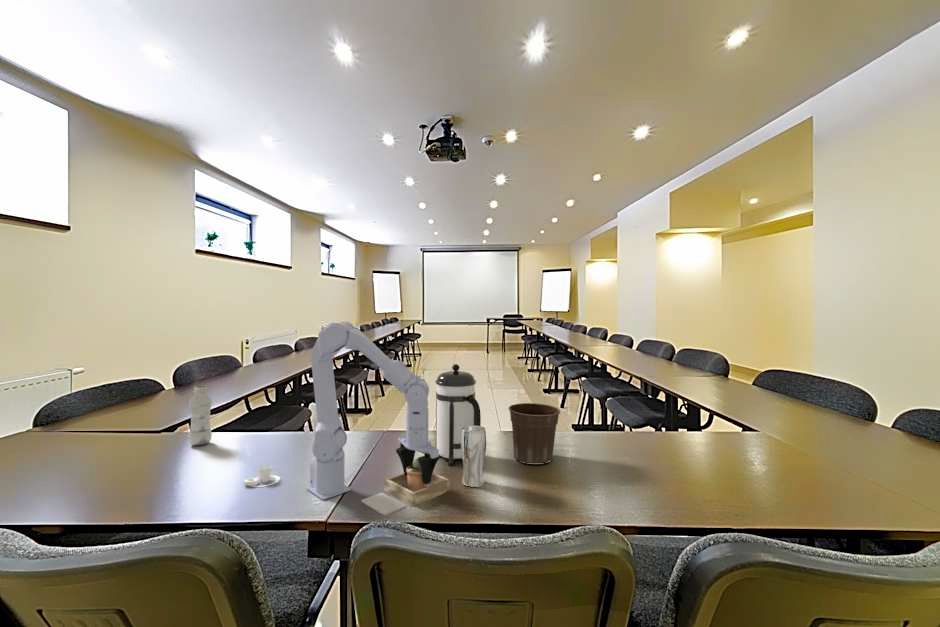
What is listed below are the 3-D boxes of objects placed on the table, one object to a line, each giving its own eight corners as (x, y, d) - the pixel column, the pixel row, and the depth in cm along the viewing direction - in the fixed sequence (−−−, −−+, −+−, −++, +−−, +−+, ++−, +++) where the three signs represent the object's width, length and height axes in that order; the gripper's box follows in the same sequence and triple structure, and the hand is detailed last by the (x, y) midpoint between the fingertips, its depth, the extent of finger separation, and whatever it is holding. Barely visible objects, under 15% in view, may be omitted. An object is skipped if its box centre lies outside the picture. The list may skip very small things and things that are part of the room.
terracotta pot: (401, 491, 109) (401, 458, 109) (418, 484, 113) (418, 453, 113) (415, 498, 105) (415, 464, 105) (432, 491, 109) (432, 458, 109)
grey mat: (361, 501, 103) (361, 500, 103) (381, 493, 107) (381, 492, 107) (384, 516, 96) (384, 514, 96) (405, 507, 100) (405, 505, 100)
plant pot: (556, 451, 141) (557, 403, 140) (562, 469, 124) (563, 416, 124) (508, 449, 142) (508, 402, 142) (507, 467, 126) (508, 414, 126)
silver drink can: (471, 475, 119) (471, 423, 119) (490, 482, 115) (491, 428, 115) (455, 483, 114) (455, 429, 114) (475, 491, 110) (475, 434, 109)
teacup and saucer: (241, 490, 110) (241, 475, 110) (248, 478, 117) (248, 464, 117) (277, 487, 112) (277, 472, 112) (282, 475, 120) (282, 461, 120)
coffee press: (424, 465, 127) (424, 366, 127) (440, 447, 143) (440, 360, 142) (479, 470, 123) (480, 369, 123) (489, 452, 139) (490, 362, 138)
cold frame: (384, 490, 109) (384, 479, 109) (420, 477, 118) (420, 467, 118) (413, 506, 101) (413, 494, 101) (449, 490, 109) (449, 479, 109)
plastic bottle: (190, 442, 146) (190, 385, 145) (213, 440, 148) (213, 384, 148) (186, 448, 140) (186, 389, 139) (210, 446, 143) (210, 387, 142)
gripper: (447, 429, 107) (447, 481, 107) (412, 418, 117) (412, 466, 117) (426, 435, 102) (426, 490, 102) (391, 423, 112) (391, 473, 112)
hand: (417, 478), depth 109 cm, fingers open, 7 cm apart
